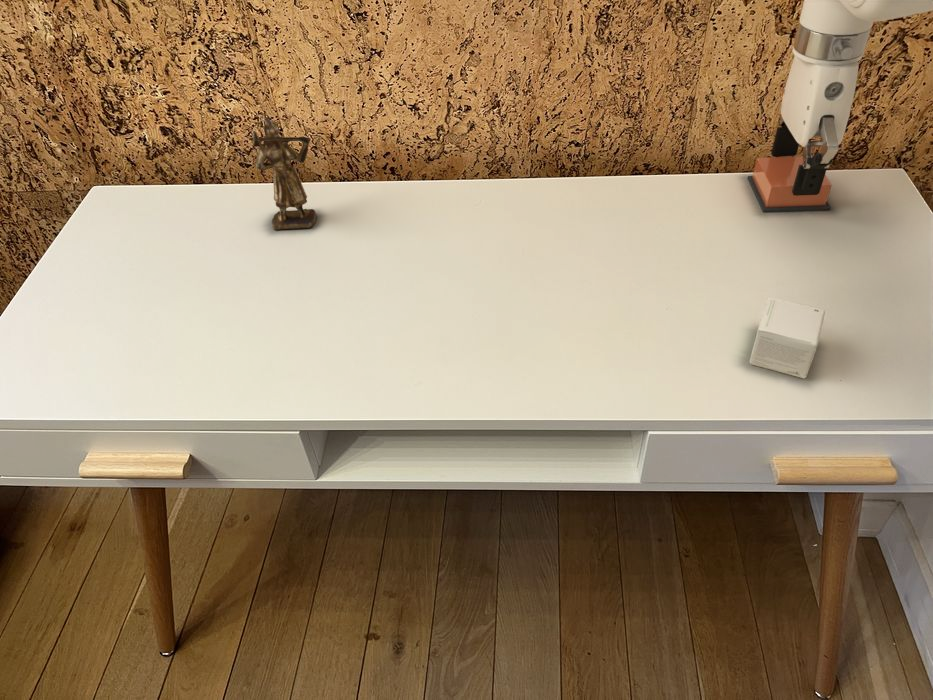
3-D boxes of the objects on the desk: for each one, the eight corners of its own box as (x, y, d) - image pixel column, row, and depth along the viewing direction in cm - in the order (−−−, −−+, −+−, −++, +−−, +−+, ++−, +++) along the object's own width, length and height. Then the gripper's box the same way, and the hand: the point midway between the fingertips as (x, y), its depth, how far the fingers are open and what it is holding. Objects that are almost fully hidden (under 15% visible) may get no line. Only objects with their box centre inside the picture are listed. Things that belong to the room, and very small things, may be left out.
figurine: (329, 212, 101) (306, 109, 90) (325, 228, 98) (300, 123, 87) (276, 215, 101) (247, 112, 91) (270, 231, 98) (240, 126, 88)
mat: (830, 210, 94) (831, 207, 94) (762, 212, 94) (763, 209, 94) (810, 176, 100) (811, 173, 100) (747, 178, 101) (747, 175, 100)
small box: (758, 330, 79) (768, 295, 75) (814, 345, 77) (828, 309, 73) (746, 364, 75) (757, 329, 72) (805, 381, 73) (819, 345, 70)
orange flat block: (825, 205, 94) (831, 185, 92) (766, 207, 95) (771, 187, 92) (807, 175, 99) (813, 155, 97) (752, 177, 100) (756, 157, 98)
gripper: (894, 69, 77) (846, 209, 88) (839, 11, 89) (803, 141, 101) (820, 73, 77) (782, 211, 89) (776, 14, 90) (747, 143, 102)
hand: (793, 174), depth 95 cm, fingers open, 9 cm apart
